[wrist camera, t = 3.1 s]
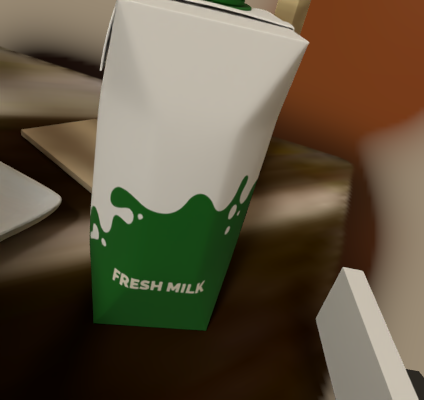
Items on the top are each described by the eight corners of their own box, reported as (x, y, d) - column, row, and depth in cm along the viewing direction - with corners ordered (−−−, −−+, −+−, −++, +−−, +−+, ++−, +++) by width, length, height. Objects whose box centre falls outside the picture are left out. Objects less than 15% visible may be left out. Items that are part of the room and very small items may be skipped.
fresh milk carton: (208, 250, 32) (287, -30, 22) (221, 346, 24) (353, -13, 14) (95, 238, 30) (123, -74, 20) (73, 338, 23) (99, -81, 12)
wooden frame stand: (131, 226, 32) (193, -197, 19) (21, 135, 41) (10, -201, 28) (257, 176, 45) (346, -98, 32) (153, 114, 54) (189, -122, 40)
